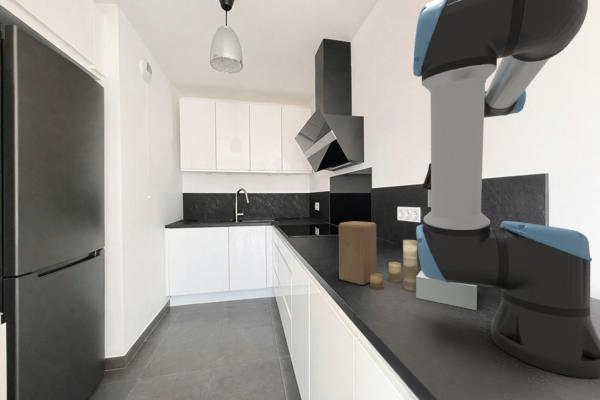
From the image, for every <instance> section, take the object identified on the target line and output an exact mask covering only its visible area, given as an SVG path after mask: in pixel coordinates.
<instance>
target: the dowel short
mask: <svg viewBox="0 0 600 400" xmlns="http://www.w3.org/2000/svg"><path fill="white" fill-rule="evenodd" d="M369 284H370V285H369V287H370V289H373V290H376V291H378V290H379V291H380V290H384V274H382V273H372V274H370V282H369Z"/></svg>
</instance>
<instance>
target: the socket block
mask: <svg viewBox="0 0 600 400" xmlns="http://www.w3.org/2000/svg"><path fill="white" fill-rule="evenodd" d="M415 298H416V299H420V300H423V301H424V300H425V301H430V302H434V303H441V304H445V305H450V306H454V307H460V308H463V309H469V310H474V311H477V310H478V309H477V307H478V305H477V303H478V302H477V301H478V286H477V285H469V284H461V283H453V282H449V283H446V282H444V281H440V280H434V279H430V278H428V277H426V276H425V275H424V273H423V272H422V269H421V270H420V271H419V272H418V273H417V276H416V291H415Z"/></svg>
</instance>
